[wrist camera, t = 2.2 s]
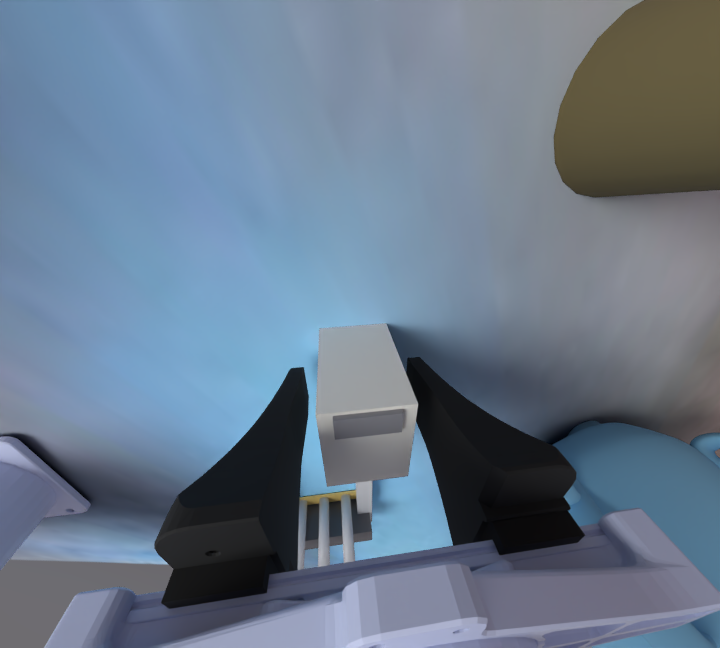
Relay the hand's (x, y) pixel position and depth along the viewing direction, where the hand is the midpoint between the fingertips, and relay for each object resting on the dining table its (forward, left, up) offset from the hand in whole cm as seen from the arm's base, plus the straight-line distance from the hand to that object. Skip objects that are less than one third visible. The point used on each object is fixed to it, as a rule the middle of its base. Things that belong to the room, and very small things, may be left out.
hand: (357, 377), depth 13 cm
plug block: (0, 0, -2) cm, 2 cm away
